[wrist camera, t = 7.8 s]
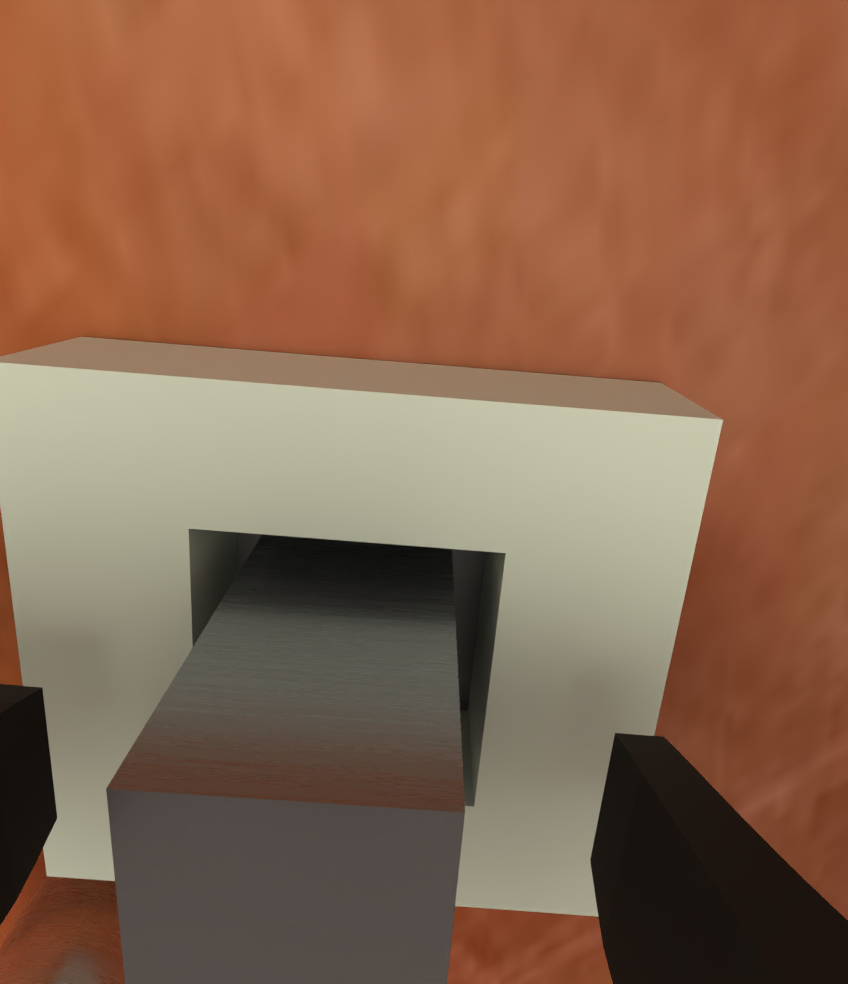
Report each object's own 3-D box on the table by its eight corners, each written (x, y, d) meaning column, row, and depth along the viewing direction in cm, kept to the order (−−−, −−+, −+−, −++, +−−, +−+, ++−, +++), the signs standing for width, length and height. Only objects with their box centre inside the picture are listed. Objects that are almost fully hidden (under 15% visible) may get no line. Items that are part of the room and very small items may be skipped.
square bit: (450, 524, 13) (465, 813, 6) (437, 675, 14) (438, 1058, 7) (275, 512, 13) (105, 788, 6) (275, 664, 14) (130, 1038, 7)
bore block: (661, 382, 12) (723, 420, 10) (583, 800, 15) (614, 917, 13) (81, 336, 12) (-18, 361, 10) (115, 766, 15) (46, 876, 12)
